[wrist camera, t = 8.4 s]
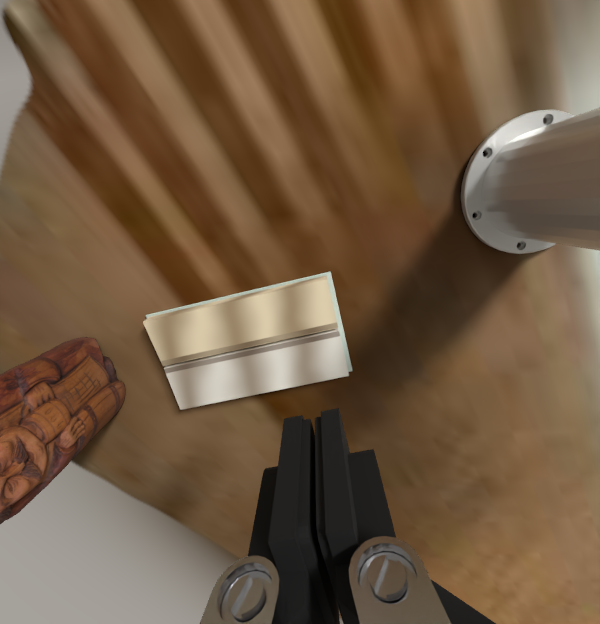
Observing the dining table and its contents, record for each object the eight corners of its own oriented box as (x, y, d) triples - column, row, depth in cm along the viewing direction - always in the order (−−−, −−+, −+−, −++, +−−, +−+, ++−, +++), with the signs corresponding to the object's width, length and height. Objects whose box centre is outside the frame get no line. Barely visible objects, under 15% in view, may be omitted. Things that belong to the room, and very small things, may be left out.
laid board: (337, 325, 37) (338, 330, 36) (347, 369, 39) (349, 375, 38) (168, 362, 39) (163, 368, 38) (184, 403, 41) (180, 409, 40)
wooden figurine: (139, 413, 42) (21, 557, 25) (93, 424, 43) (-53, 571, 26) (98, 327, 39) (-72, 424, 22) (49, 340, 39) (-153, 444, 22)
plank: (326, 275, 35) (327, 279, 34) (337, 322, 37) (338, 327, 36) (148, 317, 37) (142, 322, 36) (167, 359, 39) (162, 366, 38)
